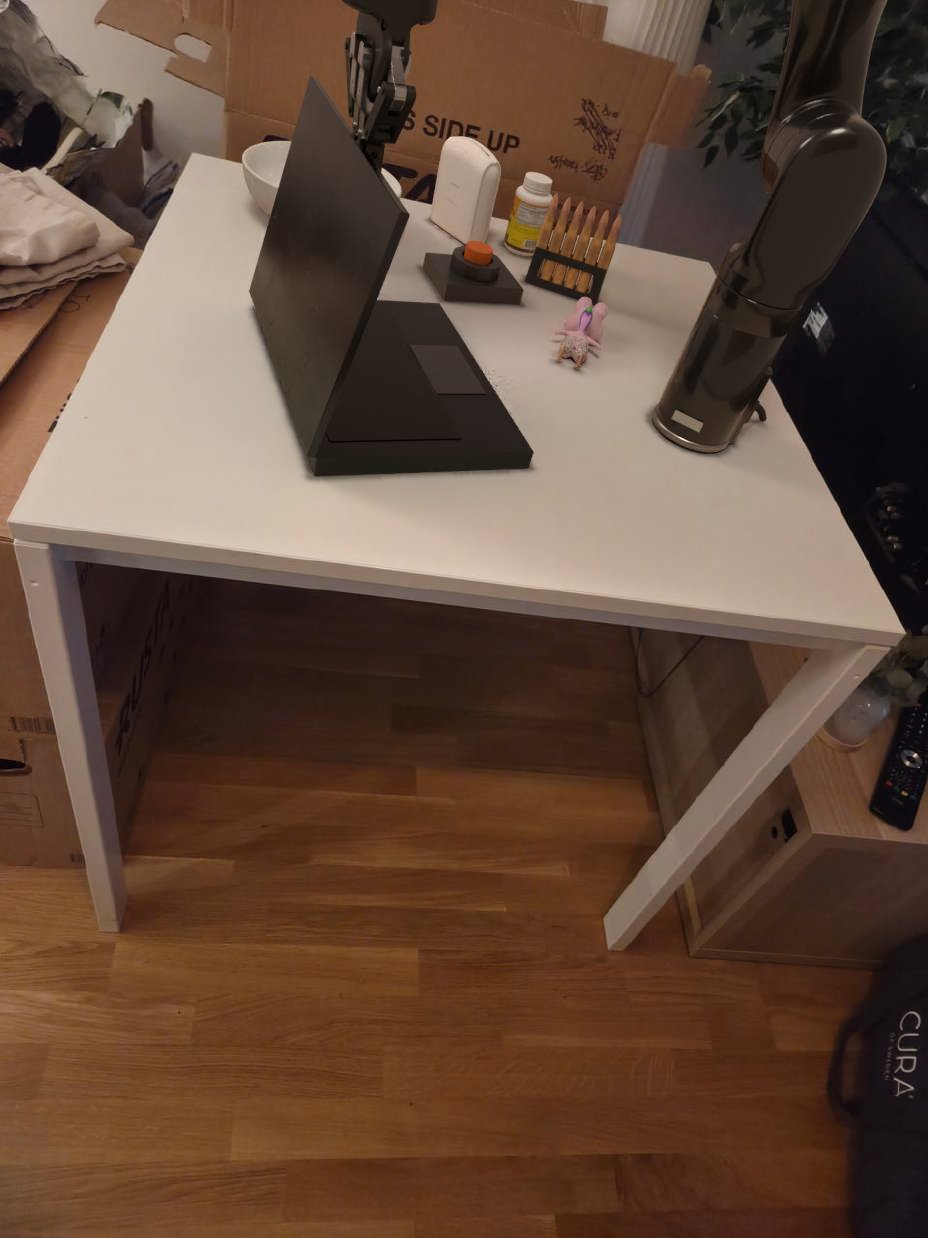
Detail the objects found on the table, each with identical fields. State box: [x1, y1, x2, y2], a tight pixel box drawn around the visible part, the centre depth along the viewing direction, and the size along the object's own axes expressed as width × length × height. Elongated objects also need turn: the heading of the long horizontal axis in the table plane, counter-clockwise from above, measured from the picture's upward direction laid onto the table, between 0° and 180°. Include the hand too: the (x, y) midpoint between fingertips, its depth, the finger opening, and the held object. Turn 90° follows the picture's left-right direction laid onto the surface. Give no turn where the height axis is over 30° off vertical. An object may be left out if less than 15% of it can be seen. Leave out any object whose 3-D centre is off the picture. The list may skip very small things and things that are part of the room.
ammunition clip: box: [524, 192, 623, 307], centre depth 107 cm, size 11×2×12 cm, turn 76°
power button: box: [464, 241, 494, 265], centre depth 103 cm, size 4×4×2 cm
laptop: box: [307, 299, 535, 477], centre depth 84 cm, size 22×30×2 cm
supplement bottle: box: [503, 171, 554, 257], centre depth 115 cm, size 6×6×10 cm
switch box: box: [422, 245, 524, 306], centre depth 104 cm, size 11×9×4 cm
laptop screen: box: [248, 75, 411, 458], centre depth 72 cm, size 22×30×1 cm
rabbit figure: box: [554, 297, 608, 371], centre depth 99 cm, size 6×6×15 cm
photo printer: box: [430, 135, 502, 245], centre depth 113 cm, size 10×4×12 cm, turn 39°
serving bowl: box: [241, 140, 403, 217], centre depth 106 cm, size 21×21×7 cm
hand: (364, 186), depth 69 cm, fingers closed
